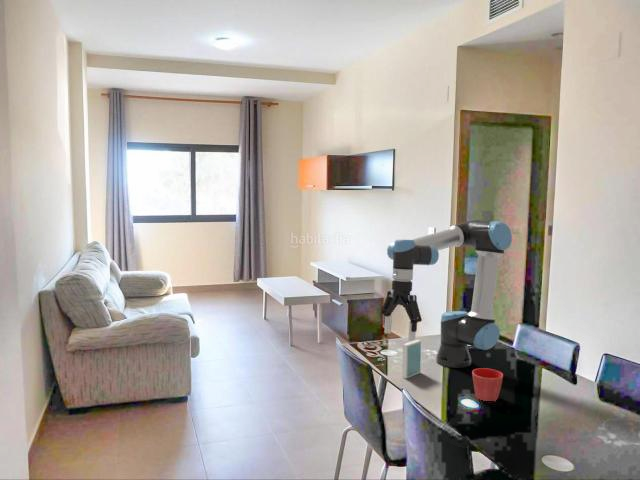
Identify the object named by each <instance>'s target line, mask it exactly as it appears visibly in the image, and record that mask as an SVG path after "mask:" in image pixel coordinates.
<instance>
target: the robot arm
mask: <svg viewBox="0 0 640 480" xmlns="http://www.w3.org/2000/svg"><path fill="white" fill-rule="evenodd" d="M512 234H513V233H512V231H511V228H510V227H509V225H507V224H506V223H505V222H502V221H497V220H475V219H474V220H468V221H464V222H462V223H458V224H457V223H456V224H454V225H451V226H450V227H448V229H445V230H441V231H438V232H435V233H431V234H427V235H424V236H420V237H417V238H414V239H403V238H402V239H399V238H397V239H395V241H393V242H391V243H390V244H389V245H388V246H387V250H386V252H387V253H386V254H387V256H388V258H389V259H390V260H392V261H393V262H392V279H393V280H391V290H388V291H387V293H386V298H385V300H384V301H383V305H382V308H381V310H380V314H382V315H383V316H384V323H383V324H384V331H383V333H384V334H391V333H392V320H393V316H392V313H393V312H394V310H395V309H396V308H397V307H398V306H402V307H403V308H404V311H405V312H406V314H407V317H409V318H408V319H409V320H410V322H409V323H408V335H407V336H408V337H407V340H408V342H409V341H410V342H411V341H414V340H416V333H417V330H418V323H420V322H422V321H423V320H422V316H421V312H420V309H419V305H418V302H417V300H418V299H417V298H418V297H417V294H411V292H412V291H413V277H414V276H413V275H414V265H415V266H416V265H417V266H420V265H421V266H433V265H435V264H436V263H437V262H438V260H439V257H440V253H439V251H441V250H445V249H448V248H451V247H454V248H459V247H474V248H475V249H474V251H475V253H476V254H477V262H476V269H475V270H476V271H475V279H474V286H473V294H472V302H471V309H470V311H469V312H467V311H460V310H458V311H457V310H455V311H446V312H442V314H441V317H440V318H441V319H440V346H439V349H438V352H437V353H436V357H435V358H436V361H435V362H436V363H437V364H439V365H441V366H444V367H447V368H456V369H457V368H458V369H459V368H460V369H461V368H466V367H470V366H472V357H471V354H470V352H469V351H470V350H469V348H468V347H469V346H470V347H473V348H475V349H480V350H483V351H484V350H490V349H492V348H493V347H494V346H495V345H496V344H497V343H498V341H499V339H500V338H499V337H500V332H501V331H500V328H499V326H498V325H497V324H496V317H495V316H494V314H493V311H494V300H495V295H496V294H495V293H496V287H497V278H498V270H499V264H500V263H499V262H500V258H501V257H503V256H504V255H505V250H507V249H509V248H510V246H511V245H512V240H513V238H512V237H513V235H512Z"/></svg>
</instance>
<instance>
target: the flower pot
mask: <svg viewBox="0 0 640 480" xmlns="http://www.w3.org/2000/svg"><path fill="white" fill-rule="evenodd" d="M471 375H472V381H473V388H474V393H475V398H476V397H477V398H478V399H477V398H476V399H477V400H479V399H480V400H479V401H481V400H483V401H482V402H484V401H494V402H497V401H498V400H497V399H499V395H500V392H501V388H502V384H503V378H504V374H503V372H501V371H499V370H496V369H492V368H488V367H486V368H485V367H483V368H482V367H479V368H478V367H477V368H475V369H473V370H472V371H471ZM496 400H497V401H496Z"/></svg>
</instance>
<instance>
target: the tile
mask: <svg viewBox="0 0 640 480" xmlns="http://www.w3.org/2000/svg"><path fill="white" fill-rule="evenodd" d="M421 351H422V340H420V339H415V340H411V341H410V342H409V341H408V342H406V343H402V371H401V372H402V379H406V380H407V379H409V378H412V377H414V376H416V375H418V374H421V369H422V368H421V364H422V363H421V357H422V356H421V355H422V352H421Z"/></svg>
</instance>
